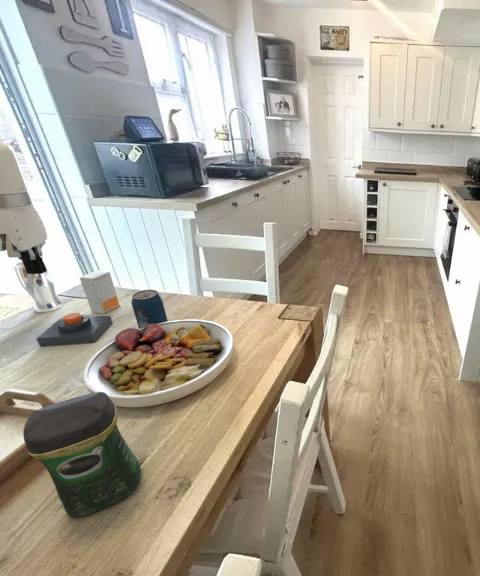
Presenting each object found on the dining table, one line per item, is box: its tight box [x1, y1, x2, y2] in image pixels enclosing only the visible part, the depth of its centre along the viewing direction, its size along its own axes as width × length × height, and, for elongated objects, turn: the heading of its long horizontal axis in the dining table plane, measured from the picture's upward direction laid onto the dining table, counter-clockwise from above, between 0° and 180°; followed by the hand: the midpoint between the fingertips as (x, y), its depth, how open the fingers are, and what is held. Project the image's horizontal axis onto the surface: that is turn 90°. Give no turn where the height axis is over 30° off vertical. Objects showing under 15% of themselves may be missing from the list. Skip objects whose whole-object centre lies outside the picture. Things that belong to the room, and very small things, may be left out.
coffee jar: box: [22, 392, 142, 519], centre depth 49 cm, size 10×8×19 cm
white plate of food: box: [82, 319, 235, 408], centre depth 78 cm, size 30×30×8 cm
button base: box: [36, 313, 114, 348], centre depth 89 cm, size 12×10×4 cm
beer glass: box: [12, 259, 63, 314], centre depth 97 cm, size 7×7×15 cm
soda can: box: [130, 289, 169, 329], centre depth 91 cm, size 7×7×12 cm
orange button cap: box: [62, 312, 82, 325], centre depth 88 cm, size 4×4×2 cm
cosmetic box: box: [79, 269, 120, 315], centre depth 100 cm, size 6×4×12 cm
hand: (37, 272), depth 82 cm, fingers closed
